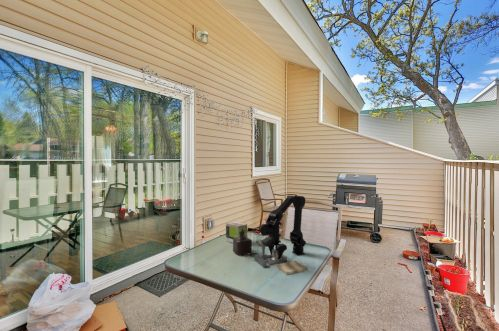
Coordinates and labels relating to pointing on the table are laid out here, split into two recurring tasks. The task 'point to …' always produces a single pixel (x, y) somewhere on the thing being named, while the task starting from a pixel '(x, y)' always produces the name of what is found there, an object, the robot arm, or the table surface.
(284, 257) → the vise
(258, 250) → the table surface
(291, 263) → the board
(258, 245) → the mechanical component
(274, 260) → the brushed metal step block
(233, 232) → the tea box
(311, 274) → the table surface
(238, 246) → the potted plant
